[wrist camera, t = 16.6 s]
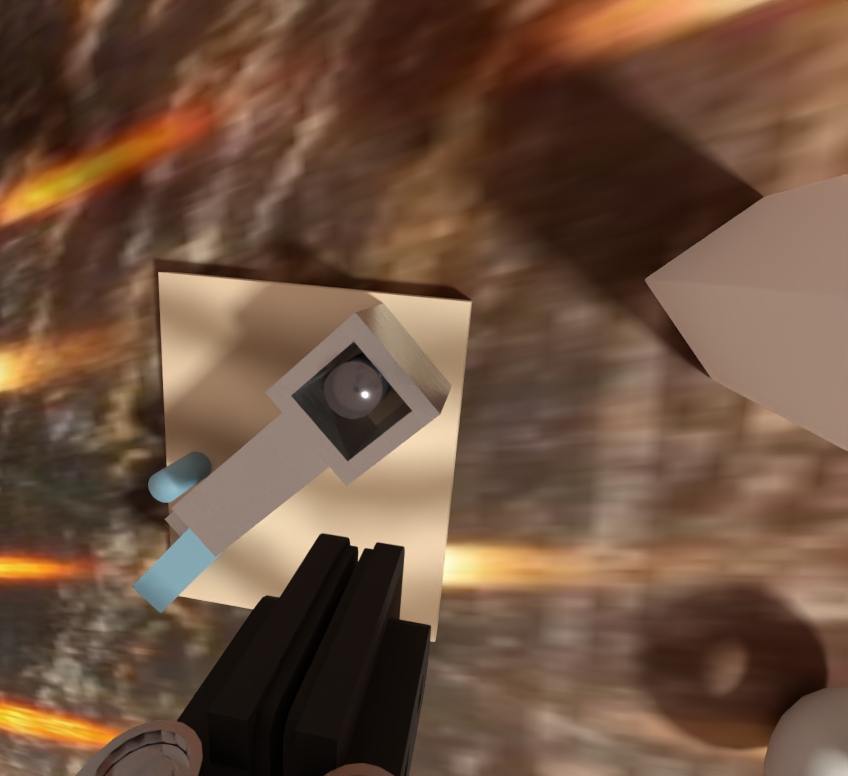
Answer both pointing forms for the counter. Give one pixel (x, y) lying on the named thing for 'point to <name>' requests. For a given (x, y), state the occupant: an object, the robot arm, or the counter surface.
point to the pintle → (355, 387)
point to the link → (315, 431)
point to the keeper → (188, 550)
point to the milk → (772, 305)
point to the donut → (811, 737)
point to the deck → (253, 410)
